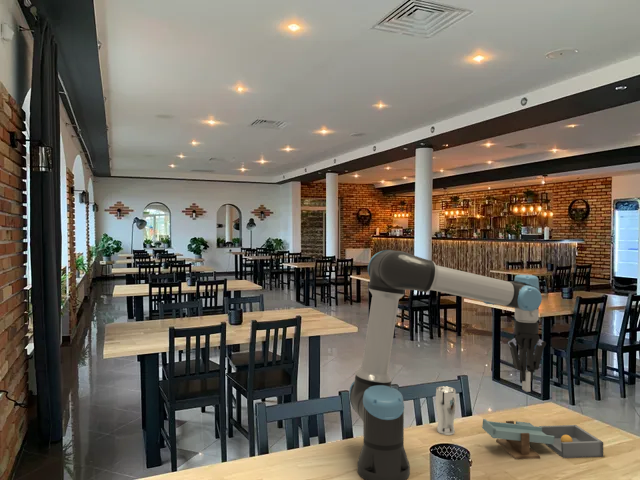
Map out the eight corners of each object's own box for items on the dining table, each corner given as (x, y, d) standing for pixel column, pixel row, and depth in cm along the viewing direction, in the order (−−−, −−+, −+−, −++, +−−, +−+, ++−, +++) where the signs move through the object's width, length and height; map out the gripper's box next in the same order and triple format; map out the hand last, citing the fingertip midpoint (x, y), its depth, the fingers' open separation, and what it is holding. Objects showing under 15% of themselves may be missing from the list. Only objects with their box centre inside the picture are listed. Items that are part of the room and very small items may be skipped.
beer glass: (433, 433, 167) (433, 390, 167) (438, 426, 174) (438, 385, 173) (453, 437, 164) (453, 393, 164) (458, 429, 170) (457, 387, 170)
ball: (568, 435, 154) (577, 440, 154) (561, 431, 157) (570, 436, 157) (562, 444, 154) (571, 450, 154) (556, 440, 157) (565, 445, 157)
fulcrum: (515, 459, 147) (515, 435, 147) (496, 441, 160) (496, 420, 160) (540, 458, 148) (540, 435, 148) (519, 440, 161) (519, 419, 161)
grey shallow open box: (563, 458, 148) (563, 443, 148) (539, 439, 162) (539, 426, 162) (603, 456, 149) (603, 442, 149) (575, 438, 163) (575, 424, 163)
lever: (493, 438, 149) (494, 428, 149) (473, 419, 164) (474, 411, 164) (554, 444, 151) (555, 435, 151) (529, 425, 166) (530, 417, 166)
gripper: (513, 322, 158) (512, 394, 158) (551, 322, 159) (550, 393, 159) (502, 319, 166) (502, 387, 166) (539, 318, 167) (538, 386, 167)
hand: (526, 390), depth 162 cm, fingers closed
